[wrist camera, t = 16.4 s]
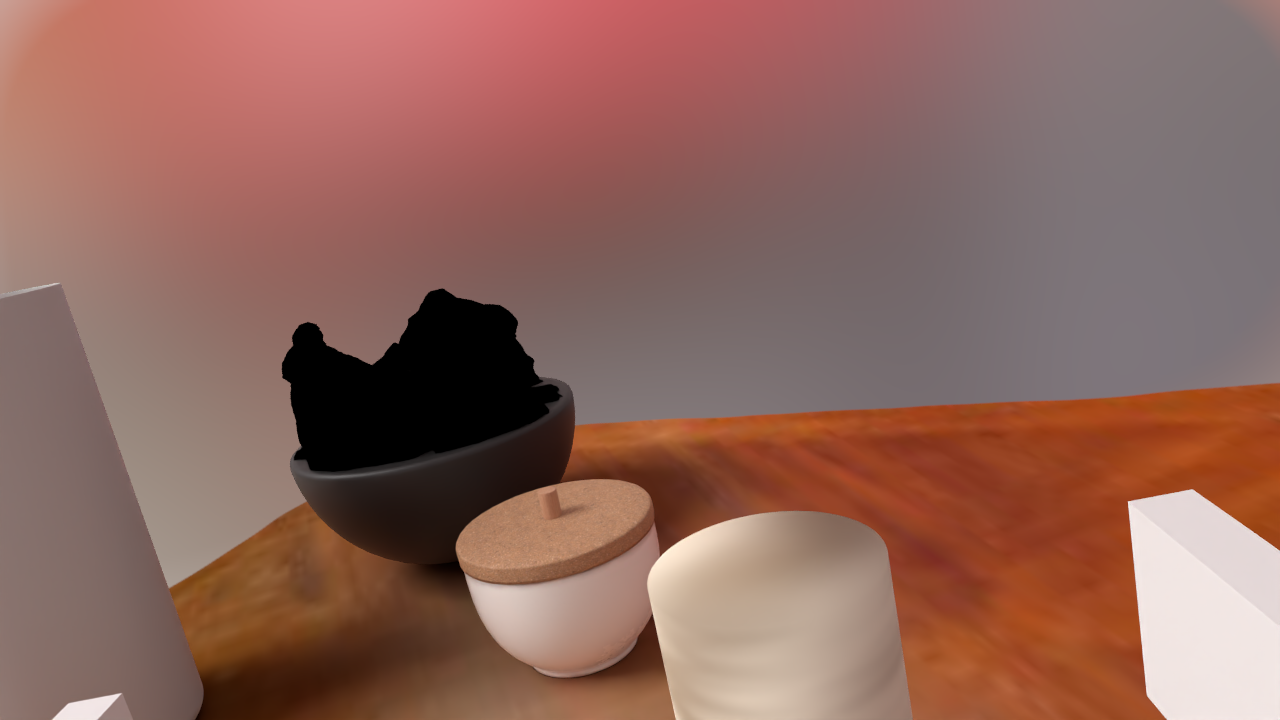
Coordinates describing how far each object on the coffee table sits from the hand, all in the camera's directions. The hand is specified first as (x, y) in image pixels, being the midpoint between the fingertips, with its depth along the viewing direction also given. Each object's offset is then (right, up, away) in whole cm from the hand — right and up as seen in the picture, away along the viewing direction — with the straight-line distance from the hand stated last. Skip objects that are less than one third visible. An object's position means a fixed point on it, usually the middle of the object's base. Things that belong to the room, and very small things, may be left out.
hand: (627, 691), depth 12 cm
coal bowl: (-12, -10, +56) cm, 58 cm away
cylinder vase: (-30, -18, +39) cm, 52 cm away
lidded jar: (-3, -12, +39) cm, 41 cm away
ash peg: (+6, -15, +15) cm, 22 cm away
